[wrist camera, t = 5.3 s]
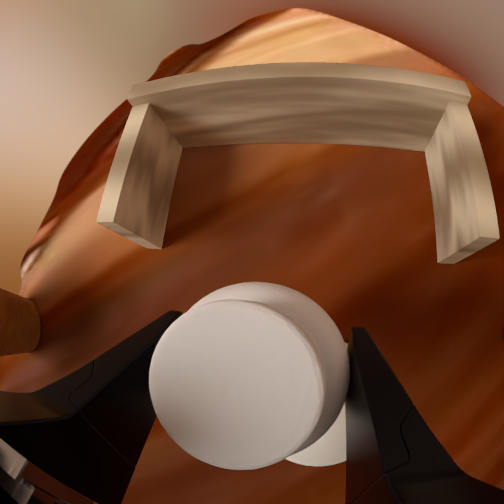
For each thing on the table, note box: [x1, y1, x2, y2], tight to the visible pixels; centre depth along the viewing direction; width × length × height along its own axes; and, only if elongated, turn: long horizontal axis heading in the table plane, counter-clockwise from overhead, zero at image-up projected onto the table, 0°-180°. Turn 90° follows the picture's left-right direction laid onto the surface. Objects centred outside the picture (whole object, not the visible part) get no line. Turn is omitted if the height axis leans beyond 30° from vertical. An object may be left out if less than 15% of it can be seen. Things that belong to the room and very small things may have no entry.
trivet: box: [285, 343, 348, 466], centre depth 19 cm, size 10×10×1 cm
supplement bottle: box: [149, 282, 350, 470], centre depth 10 cm, size 6×6×10 cm
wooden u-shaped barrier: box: [96, 62, 500, 264], centre depth 20 cm, size 12×26×8 cm, turn 84°
